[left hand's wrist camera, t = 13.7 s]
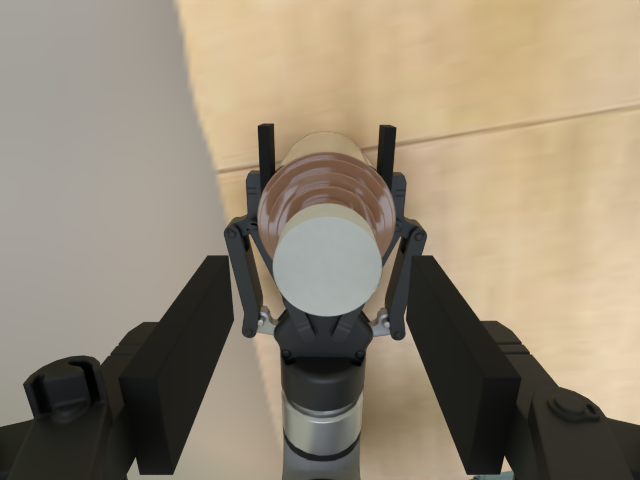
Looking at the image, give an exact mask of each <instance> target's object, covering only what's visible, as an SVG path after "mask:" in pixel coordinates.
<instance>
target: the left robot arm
mask: <svg viewBox="0 0 640 480" xmlns="http://www.w3.org/2000/svg"><path fill="white" fill-rule="evenodd" d="M233 321H234V314H233V303H232V291H231V280H230V269H229V258H228V256H207V257H206V259H205V260H204V261H203V263H202V264H201V265H200V267H199V268H198V269H197V271H196V272H195V274H194V275H193V276H192V278H191V279H190V280H189V282H188V283H187V285H186V286H185V287H184V289H183V290H182V291H181V293H180V294H179V295H178V297H177V298H176V300H175V301H174V302H173V304H172V305H171V306H170V308H169V309H168V310H167V312H166V313H165V314H164V316H163V317H162V319H161V320H160V321H159V322H143V323H142V324H140V325H139V326H137V327H135V328H134V329H132V330H131V331H129V332H128V333H127V334H126V336H125V337H124V338H123V339H122V340H121V342H120V343H119V346H116V348H115V349H114V350H113V351H112V352H111V355H110V356H108V357H107V358H106V360H105V361H104V362H103V363H102V364H101V366H100V362H99V361H98V360H96V359H95V358H94V357H89V356H72V357H67V358H64V359H60V360H57V361H54V362H52V363H50V364H48V365H46V366H43V367H42V368H40V369H39V370H37V371H36V372H34V373H33V374H32V375H30V376H29V378H28V379H27V380H26V381H25V382H24V384H23V386H24V389H25V392H26V395H27V398H28V401H29V404H30V407H31V410H32V413H33V416H34V419H32V420H29V421H25V422H21V423H16V424H12V425H7V426H3V427H0V480H128V479H127V473H128V471H129V469H130V467H131V465H132V463H133V461H134V459H135V457H136V460H137V464H138V469H139V473H140V475H173V473H174V471H175V468H176V466H177V463H178V461H179V458H180V456H181V453H182V451H183V448H184V446H185V443H186V440H187V438H188V435H189V433H190V430H191V428H192V425H193V423H194V420H195V418H196V415H197V413H198V410H199V408H200V405H201V402H202V400H203V397H204V395H205V392H206V390H207V387H208V385H209V382H210V380H211V377H212V375H213V372H214V369H215V367H216V364H217V362H218V359H219V357H220V354H221V352H222V349H223V347H224V344H225V342H226V339H227V337H228V334H229V332H230V329H231V326H232V324H233ZM406 321H407V324H408V326H409V329H410V332H411V334H412V337H413V339H414V342H415V344H416V347H417V349H418V352H419V354H420V357H421V359H422V362H423V364H424V367H425V370H426V372H427V375H428V377H429V380H430V382H431V385H432V387H433V390H434V392H435V395H436V397H437V400H438V402H439V405H440V408H441V410H442V413H443V415H444V418H445V420H446V423H447V425H448V428H449V430H450V433H451V435H452V438H453V440H454V443H455V446H456V448H457V451H458V453H459V456H460V458H461V461H462V463H463V466H464V468H465V471H466V473H467V475H500V473H501V469H502V464H503V460H504V455H505V457H506V459H507V461H508V463H509V465H510V467H511V469H512V471H513V473H514V475H513V479H512V480H640V425H636V424H632V423H627V422H623V421H618V420H614V419H610V418H607V417H606V416H605V415H604V413H603V412H602V411H601V409H600V408H599V407H598V406H597V405H595V404H594V403H593V402H592V401H591V400H589V399H588V398H586V397H584V396H582V395H580V394H578V393H576V392H574V391H571V390H568V389H565V388H562V387H559V386H558V385H557V384H556V383H555V382H554V380H553V379H552V378H551V377H550V376H549V375H548V373H547V372H546V371H545V370H544V369H543V367H542V366H541V365H540V364H539V363H538V361H537V360H536V359H535V358H534V357H533V355H530V352H529V351H528V349H527V348H526V347H525V346H524V345H522V342H521V341H520V340H519V339H518V338H517V336H516V335H515V334H514V333H513V332H512V331H511V330H510V329H508V328H507V327H505V326H504V325H502V324H501V323H499V322H497V321H480V320H479V319H478V317H477V316H476V314H475V313H474V312H473V310H472V309H471V308H470V306H469V305H468V304H467V302H466V301H465V299H464V298H463V297H462V295H461V294H460V293H459V291H458V290H457V289H456V287H455V286H454V284H453V283H452V282H451V280H450V279H449V278H448V276H447V275H446V274H445V272H444V271H443V269H442V268H441V267H440V265H439V264H438V263H437V261H436V260H435V258H434V257H433V256H412V258H411V269H410V280H409V291H408V302H407V314H406Z"/></svg>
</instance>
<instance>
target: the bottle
mask: <svg viewBox="0 0 640 480" xmlns="http://www.w3.org/2000/svg"><path fill="white" fill-rule="evenodd" d="M323 203H332V204H338V205H342V206H345V207H347V208H350V209H352V210H353V211H355V212H357V213H358V214H359V215H360V216H362V218H363V219H364V220H365V221H366V222H367V223H368V225H369V226H370V228H371V230H372V232H373V235H374V238H375V240H376V243H377V246H378V249H379V251H380V254H381V258H382V257H383V256H384V254H385V252H386V251H387V249H388V247H389V245H390V243H391V240H392V238H393V234H394V230H395V222H396V213H395V206H394V201H393V198H392V195H391V192H390V190H389V188H388V186H387V185H386V183H385V182H384V180H383V179H382V177H381V176H380V175H379V173H378V172H377V171H376V169H375V168H374V167H373V165H372V164H371V163H370V161H369V160H368V159H367V157H366V156H365V154H364V153H363V152H362V150H361V149H360V148H359V147H358V146H357V144H356V143H354V142H353V141H352V140H351V139H349V138H348V137H346V136H344V135H342V134H339V133H335V132H326V131H323V132H316V133H312V134H310V135H307V136H305V137H304V138H302V139H300V140H299V141H298V142H297V143H296V144H295V145H294V146H293V147H292V148H291V149H290V151H289V152H288V154H287V155H286V157H285V158H284V160H283V161H282V163H281V164H280V165H279V167H278V168H277V170H276V171H275V173H274V174H273V176H272V177H271V179H270V180H269V182H268V183H267V185H266V187H265V189H264V190H263V193H262V195H261V198H260V202H259V206H258V213H257V224H258V230H259V235H260V238H261V241H262V243H263V245H264V247H265V249H266V251H267V253H268V254H269V256H270V257H271V259H272V260H273V258H274V254H275V250H276V247H277V244H278V241H279V238H280V235H281V233H282V230H283V228H284V227H285V225H286V223H287V222H288V221H289V220H290V219H291V218H292V217H293V216H294V215H295V214H296V213H298V212H299V211H301V210H303V209H305V208H307V207H309V206H312V205H316V204H323Z"/></svg>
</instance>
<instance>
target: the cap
mask: <svg viewBox="0 0 640 480" xmlns="http://www.w3.org/2000/svg"><path fill="white" fill-rule="evenodd" d="M381 274H382V259H381V254H380V251H379V249H378V246H377V243H376V240H375V238H374V235H373V232H372V230H371V228H370V226H369V225H368V223H367V222H366V221H365V220H364V219H363V218H362V216H360V215H359V214H358V213H357V212H355V211H353V210H352V209H350V208H347V207H345V206H342V205H338V204H332V203H323V204H316V205H312V206H309V207H307V208H305V209H303V210H301V211H299V212H298V213H296V214H295V215H294V216H293V217H292V218H291V219H290V220H289V221H288V222H287V223H286V225H285V227H284V228H283V230H282V233H281V235H280V238H279V241H278V244H277V247H276V250H275V254H274V258H273V275H274V279H275V282H276V285H277V287H278V289H279V290H280V292H281V293H282V295H283V296H284V297H285V298H286V300H287V301H289V302H290V303H291V304H292V305H293V306H295V307H296V308H298V309H300V310H302V311H304V312H306V313H309V314H313V315H318V316H337V315H342V314H345V313H348V312H351V311H353V310H355V309H357V308H358V307H360V306H361V305H363V304H364V303H365V302H366V301H367V300H368V299H369V298H370V297H371V296H372V294H373V293H374V292H375V290H376V288H377V286H378V284H379V281H380V278H381Z"/></svg>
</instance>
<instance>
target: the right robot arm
mask: <svg viewBox="0 0 640 480" xmlns="http://www.w3.org/2000/svg"><path fill="white" fill-rule="evenodd" d="M395 138H396V127H394V126H391V125H380V128H379V144H378V159H377V172H378V173H379V175H380V176H381V177H382V179H383V180H384V182H385V183H386V185H387V186H388V188H389V190H390V192H391V195H392V198H393V201H394V206H395V213H396V222H395V230H394V234H393V238H392V240H391V243H390V245H389V247H388V249H387V251H386V252H385V254H384V256H383V257H382V258H381V259H382V268H383V266H384V264H385V262H386V261H387V259H388V257H389V255H390V253H391V251H392V250H393V248H394V246H395V244H396V242H397V241H398V239H399V237H400V236H401V241H400V244H399V248H398V252H397V256H396V259H395V263H394V267H393V270H392V274H391V278H390V281H389V285H388V289H387V292H386V297H385V308H381V309H380V311H379V312H378V314H377V318H376V319H375V320H374V321H370V320H369V319H368V318H367V316H366V315H365V314H364V313H363V311H362V308H363V307H364V304H365V303H364V304H363V305H361V306H360V307H358V308H357V309H355V310H353V311H351V312H348V313H345V314H342V315H337V316H318V315H313V314H309V313H306V312H304V311H302V310H300V309H298V308H296V307H295V306H293V305H292V304H291V303H290V302H289V301H287V300H286V298H285V297H284V296H283V295H282V293H281V292H280V293H281V295H282V298H283V303H284V305H285V307H286V310H285V311H284V312H283V313H282V314H281V316H280V317H279V318H278V319H277V320H275V319H273V318H272V317H271V315H270V310H269V309H268V307H267V306H263V295H262V290H261V285H260V281H259V277H258V273H257V268H256V264H255V260H254V256H253V252H252V247H251V243H250V239H249V234H251V236H252V238H253V240H254V242H255V244H256V246H257V248H258V250H259V252H260V254H261V256H262V258H263V260H264V262H265V263H266V265H267V267H268V269H269V271H270V273H271V275H272V277H273V279H274V275H273V260H272V259H271V257H270V256H269V254H268V253H267V251H266V249H265V247H264V245H263V243H262V241H261V238H260V235H259V230H258V224H257V213H258V206H259V202H260V198H261V195H262V193H263V190H264V189H265V187H266V185H267V183H268V182H269V180H270V179H271V177H272V176H273V174H274V173H275V145H274V124H261V125H259V126H258V142H259V164H260V171H259V170H252V171H251V172H250V173H249V174H248V176H247V179H246V191H247V208H248V214H247V215H245V216H242V217H236V218H234V219H233V220H232V221H231V222H230V223H229V225H228V226H227V227H226V229H225V231H224V237H225V241H226V244H227V248H228V252H229V256H230V260H231V264H232V268H233V271H234V275H235V279H236V283H237V287H238V291H239V295H240V298H241V302H242V306H243V310H244V320H243V327H242V334H243V335H244V336H245V337H247V338H252V337H254V336H255V335H256V332H258V333H263V334H269V335H274V338H275V340H276V341H277V342H278V344H279V346H280V354H281V383H282V414H283V433H284V461H283V475H282V480H360V467H359V455H360V433H361V424H362V409H363V387H364V376H365V360H366V349H367V347H368V345H369V343H370V342H371V341H372V339H373V337H377V336H384V335H391V337H392V338H393V339H394V340H402V339H403V338H404V337H405V324H404V313H405V310H406V306H407V302H408V291H409V280H410V269H411V258H412V256H421V255H422V252H423V249H424V245H425V242H426V239H427V234H426V232H425V230H424V229H423V228H422V226H421V225H420V224H419V223H418V222H417V221H416V220H410V219H408V218H405V217H404V204H405V193H406V180H405V177H404V175H403V174H402V173H401V172H393V164H394V151H395ZM274 281H275V279H274ZM275 283H276V282H275ZM279 291H280V290H279ZM513 475H514V473H513V471H508V472H502V473H500V475H484V476H481V475H476V476H474V477H473V479H470V480H512V479H513Z"/></svg>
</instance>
